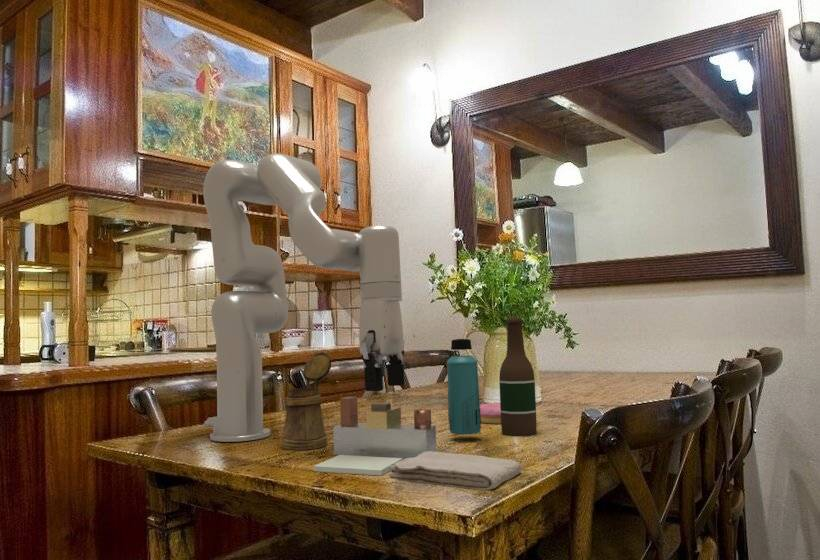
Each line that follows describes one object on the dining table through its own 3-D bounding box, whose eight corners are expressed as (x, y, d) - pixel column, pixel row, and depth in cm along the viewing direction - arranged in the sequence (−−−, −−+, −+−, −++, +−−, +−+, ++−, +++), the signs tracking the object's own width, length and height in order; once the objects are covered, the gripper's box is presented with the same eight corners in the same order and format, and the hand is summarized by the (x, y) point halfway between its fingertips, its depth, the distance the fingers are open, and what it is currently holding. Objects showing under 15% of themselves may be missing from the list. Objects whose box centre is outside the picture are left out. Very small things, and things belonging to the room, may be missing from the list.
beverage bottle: (480, 442, 122) (476, 338, 123) (446, 442, 123) (442, 339, 125) (483, 436, 128) (479, 337, 130) (450, 436, 130) (447, 338, 131)
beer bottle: (543, 431, 132) (538, 316, 134) (529, 437, 126) (524, 317, 127) (509, 429, 136) (504, 317, 138) (494, 435, 130) (489, 318, 131)
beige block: (366, 428, 112) (365, 405, 112) (381, 422, 118) (380, 401, 118) (386, 429, 110) (386, 406, 111) (401, 423, 116) (400, 401, 117)
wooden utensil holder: (344, 438, 131) (342, 351, 132) (314, 451, 118) (312, 355, 120) (306, 437, 134) (304, 352, 135) (272, 449, 121) (271, 355, 122)
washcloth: (423, 465, 106) (422, 446, 106) (524, 475, 97) (523, 455, 97) (384, 481, 96) (383, 461, 96) (493, 495, 87) (492, 472, 87)
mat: (313, 471, 102) (313, 466, 102) (339, 459, 110) (339, 454, 110) (380, 475, 98) (380, 470, 98) (402, 463, 106) (402, 458, 106)
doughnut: (530, 423, 144) (529, 405, 144) (484, 426, 141) (483, 408, 142) (511, 417, 154) (510, 399, 155) (468, 420, 152) (468, 402, 152)
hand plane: (333, 454, 115) (332, 399, 115) (346, 449, 119) (345, 395, 120) (426, 459, 108) (425, 400, 109) (436, 453, 113) (434, 397, 113)
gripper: (381, 296, 125) (386, 384, 124) (340, 293, 109) (345, 393, 108) (417, 294, 122) (421, 383, 121) (380, 290, 106) (385, 392, 105)
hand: (385, 388), depth 114 cm, fingers open, 9 cm apart
